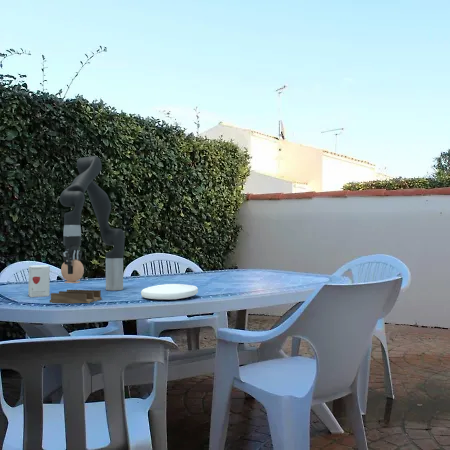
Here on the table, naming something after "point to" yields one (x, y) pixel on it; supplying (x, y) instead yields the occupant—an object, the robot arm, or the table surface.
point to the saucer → (77, 272)
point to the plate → (169, 291)
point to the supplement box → (39, 280)
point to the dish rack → (76, 296)
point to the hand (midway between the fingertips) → (72, 273)
